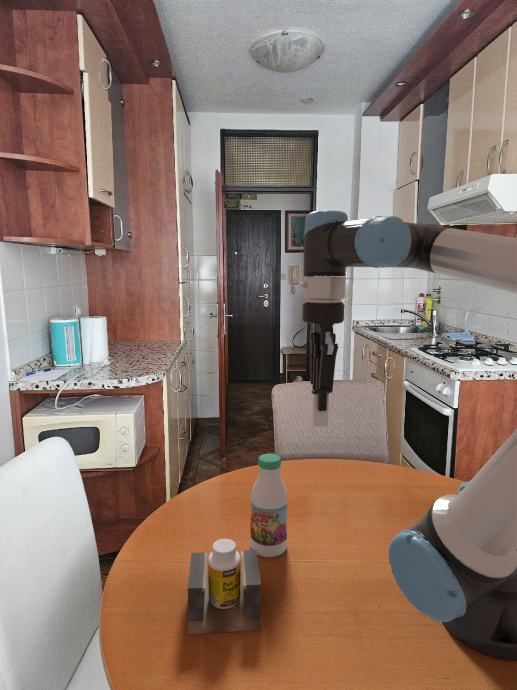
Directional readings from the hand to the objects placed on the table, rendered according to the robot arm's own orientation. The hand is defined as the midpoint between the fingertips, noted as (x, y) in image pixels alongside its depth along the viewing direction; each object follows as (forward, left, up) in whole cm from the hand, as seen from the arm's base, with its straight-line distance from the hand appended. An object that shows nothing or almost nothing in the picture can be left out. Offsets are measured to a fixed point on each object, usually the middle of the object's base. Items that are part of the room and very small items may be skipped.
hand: (319, 425), depth 82 cm
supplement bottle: (+1, +21, -28) cm, 35 cm away
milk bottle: (+9, +5, -29) cm, 30 cm away
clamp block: (+1, +21, -28) cm, 35 cm away
